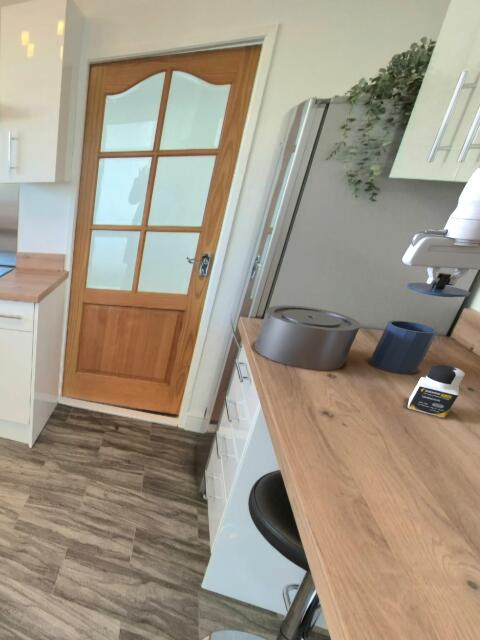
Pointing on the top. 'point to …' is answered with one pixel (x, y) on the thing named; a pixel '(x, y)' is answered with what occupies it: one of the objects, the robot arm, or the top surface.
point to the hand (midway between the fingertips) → (440, 284)
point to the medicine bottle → (437, 390)
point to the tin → (403, 346)
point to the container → (306, 337)
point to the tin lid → (439, 288)
